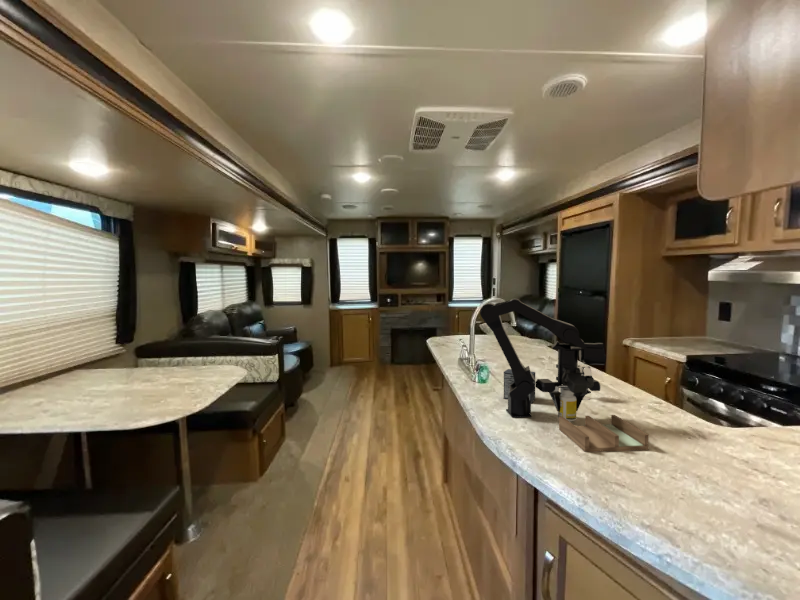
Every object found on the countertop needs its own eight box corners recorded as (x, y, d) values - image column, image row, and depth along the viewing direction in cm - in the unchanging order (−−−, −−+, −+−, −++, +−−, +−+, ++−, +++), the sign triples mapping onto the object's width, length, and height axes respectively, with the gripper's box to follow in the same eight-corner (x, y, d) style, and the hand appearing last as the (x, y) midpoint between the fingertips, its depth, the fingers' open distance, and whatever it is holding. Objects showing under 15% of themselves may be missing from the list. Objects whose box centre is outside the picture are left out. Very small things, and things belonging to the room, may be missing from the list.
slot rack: (585, 451, 94) (585, 436, 93) (559, 429, 108) (559, 416, 107) (648, 449, 94) (648, 434, 94) (614, 427, 108) (614, 414, 108)
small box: (535, 398, 135) (536, 371, 135) (532, 404, 130) (532, 375, 129) (507, 394, 141) (507, 368, 140) (502, 399, 136) (503, 371, 135)
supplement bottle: (578, 418, 116) (579, 388, 115) (573, 423, 112) (573, 392, 111) (561, 414, 120) (561, 385, 119) (555, 419, 116) (555, 389, 115)
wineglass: (590, 401, 131) (590, 369, 131) (573, 398, 135) (573, 367, 134) (593, 397, 136) (593, 366, 135) (576, 394, 139) (576, 364, 139)
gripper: (550, 370, 106) (550, 421, 107) (612, 368, 107) (610, 419, 108) (535, 361, 118) (534, 408, 118) (590, 360, 118) (589, 406, 119)
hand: (567, 411), depth 116 cm, fingers closed on supplement bottle, 5 cm apart
